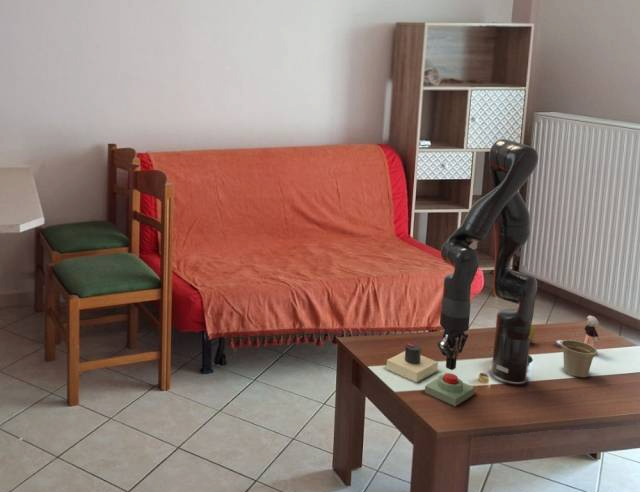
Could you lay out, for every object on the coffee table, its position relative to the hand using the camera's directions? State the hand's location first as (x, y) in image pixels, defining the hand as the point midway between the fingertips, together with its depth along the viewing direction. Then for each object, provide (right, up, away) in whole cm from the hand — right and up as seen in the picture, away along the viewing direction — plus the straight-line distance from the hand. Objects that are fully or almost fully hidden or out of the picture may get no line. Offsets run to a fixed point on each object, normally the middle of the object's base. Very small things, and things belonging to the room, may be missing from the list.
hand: (450, 368), depth 198 cm
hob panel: (-6, -6, +14) cm, 16 cm away
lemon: (+41, -5, +35) cm, 54 cm away
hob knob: (-6, -3, +13) cm, 15 cm away
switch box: (0, -7, 0) cm, 7 cm away
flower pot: (+46, -7, +14) cm, 49 cm away
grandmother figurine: (+59, -6, +28) cm, 66 cm away
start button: (0, -4, 0) cm, 4 cm away
